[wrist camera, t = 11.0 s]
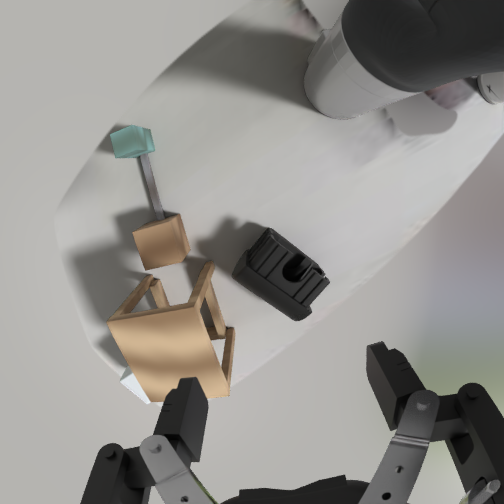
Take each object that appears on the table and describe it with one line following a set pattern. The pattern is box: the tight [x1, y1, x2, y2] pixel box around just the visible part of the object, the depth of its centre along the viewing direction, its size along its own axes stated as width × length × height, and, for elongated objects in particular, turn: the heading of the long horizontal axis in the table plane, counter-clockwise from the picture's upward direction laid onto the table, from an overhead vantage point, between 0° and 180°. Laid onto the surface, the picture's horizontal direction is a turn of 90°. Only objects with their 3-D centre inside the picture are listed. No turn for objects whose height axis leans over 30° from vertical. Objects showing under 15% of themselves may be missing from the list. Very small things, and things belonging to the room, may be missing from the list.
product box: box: [120, 365, 151, 404], centre depth 41 cm, size 6×6×7 cm
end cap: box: [232, 228, 330, 321], centre depth 36 cm, size 10×7×7 cm
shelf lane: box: [106, 261, 235, 402], centre depth 34 cm, size 12×10×13 cm
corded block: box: [110, 125, 191, 271], centre depth 33 cm, size 17×5×6 cm, turn 14°
